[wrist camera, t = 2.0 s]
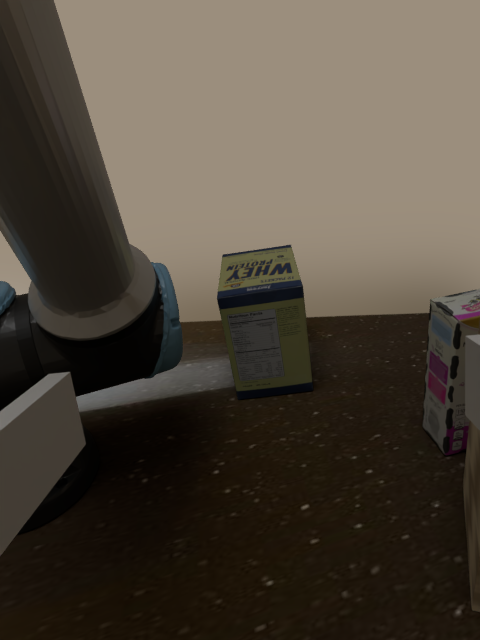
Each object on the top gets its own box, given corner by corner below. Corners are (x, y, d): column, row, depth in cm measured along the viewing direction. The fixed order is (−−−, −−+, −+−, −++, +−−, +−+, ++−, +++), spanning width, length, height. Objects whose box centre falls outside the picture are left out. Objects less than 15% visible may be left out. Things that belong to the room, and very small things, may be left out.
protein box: (301, 334, 73) (291, 242, 66) (315, 392, 60) (304, 285, 52) (237, 342, 74) (221, 253, 67) (236, 402, 60) (215, 297, 53)
